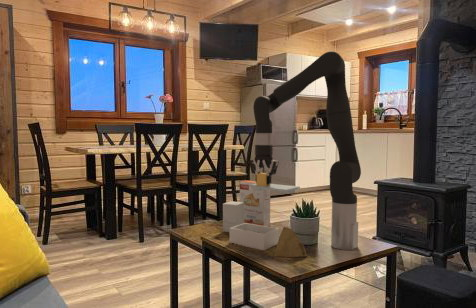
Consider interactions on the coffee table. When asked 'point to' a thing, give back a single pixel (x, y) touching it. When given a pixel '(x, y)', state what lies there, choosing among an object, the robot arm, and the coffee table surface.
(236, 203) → the supplement box
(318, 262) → the coffee table surface
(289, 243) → the rock
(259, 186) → the lid
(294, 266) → the coffee table surface
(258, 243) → the tub
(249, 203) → the cracker box
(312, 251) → the coffee table surface
